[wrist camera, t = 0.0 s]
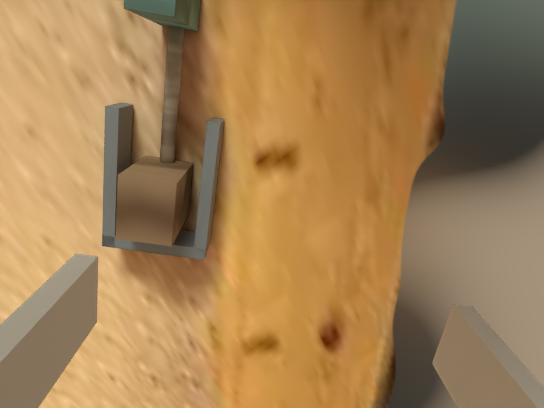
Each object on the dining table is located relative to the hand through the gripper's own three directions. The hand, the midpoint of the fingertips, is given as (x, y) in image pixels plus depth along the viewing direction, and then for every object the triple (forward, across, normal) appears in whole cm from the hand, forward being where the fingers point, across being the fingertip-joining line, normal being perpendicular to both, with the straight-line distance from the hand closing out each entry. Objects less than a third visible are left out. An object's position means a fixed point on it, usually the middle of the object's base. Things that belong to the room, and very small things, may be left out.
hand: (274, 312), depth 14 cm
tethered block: (+28, -10, +3) cm, 30 cm away
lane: (+28, -10, -4) cm, 30 cm away
